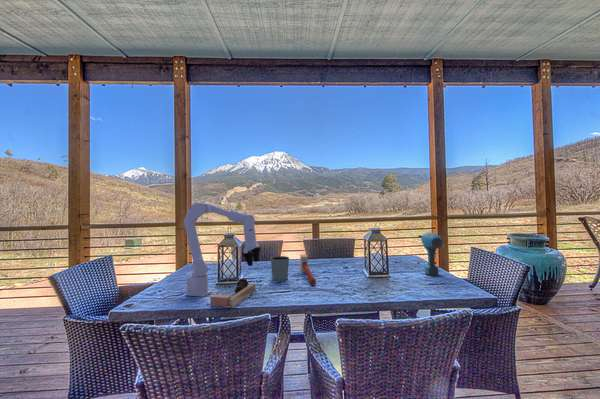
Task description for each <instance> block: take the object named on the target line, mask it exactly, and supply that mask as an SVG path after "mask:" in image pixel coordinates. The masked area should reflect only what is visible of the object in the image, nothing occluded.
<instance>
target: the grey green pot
mask: <svg viewBox="0 0 600 399" xmlns="http://www.w3.org/2000/svg"><path fill="white" fill-rule="evenodd" d="M289 264H290V257H289V256H284V255H283V256H281V255H279V256H278V255H276V256H272V257H270V266H271V280H272V281H273V282H280V283H281V282H286V281H287V280H288V279H289Z"/></svg>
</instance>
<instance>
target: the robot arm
mask: <svg viewBox="0 0 600 399" xmlns="http://www.w3.org/2000/svg"><path fill="white" fill-rule="evenodd" d="M210 213H214V214H217V215H220V216H224V217H226V218H227V219H228V221H231V222H234V223H237V224H242V228H243V236H244V244H245V247H244V249H243V252H242V253H241V254H242V256H243V258H244V259H245V261H246V264H247V266H249V267H251V266H253V264H254V263H253V262H259V260H260V252H261V250H262V247H261V246H260V243H259V242H257V237H256V236H257V235H256V228H255V222H256V219H255V217H254V216H253V215H251V214H248V213H247V212H245V211H244V212H242V211H239V209H236V208H232V209H230V210H227V209H225V208H222V207H219V206H216V205H213V204H212V203H211V204H210V203H205V202H204V203H203V202H199V201H196V202H193V203H192V204H191V205H190V206H189V207H188V209H187V212H186V214H185V217H184V219H183V224H184V228H185V233H186V237H187V241H188V245H189V249H190V254H191V259H192V265H191V269H192V270H193V273H192V274H190V275H189V276H187V278H186V294H185V296H190V297H191V296H192V297H200V298H201V297H205V296H207V295H208V294H210V293H212V291H213V290H211V289H210V290H209V276H208V275H209V274H208V266H207V265H206V263H205V260H204V258H203V254H202V250H201V245H200V240H199V237H198V232H197V228H196V223H197V221H198V219H199V218H201V217H202V216H204V214H210Z"/></svg>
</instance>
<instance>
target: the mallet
mask: <svg viewBox="0 0 600 399" xmlns="http://www.w3.org/2000/svg"><path fill="white" fill-rule="evenodd" d="M299 260H300V261H299V262H300V268H299V269H300V271H299V272H300V273H301V274H306V277H307V279H308V281H309V283H310V285H311V286H315V285H316V284H317V282H316V279H315V277H314V275H313V273H312V271H311V270H310V268H309V266H308V255H307V254H306V253H305V254H300V256H299Z"/></svg>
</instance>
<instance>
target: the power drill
mask: <svg viewBox="0 0 600 399" xmlns="http://www.w3.org/2000/svg"><path fill="white" fill-rule="evenodd" d="M418 238H420V240H421V244H422V245H423V247H424V249H425V250H426V252H427V265H425V266H424V274H425V275H427V276H431V277H432V276H439V268H440V267H439V266H437V265H436V252H437V250H438V249H439V248H441V247H442V246H443V239H442V237H441V236H440V235H438V234H437V233H434V232H425V233H423V234H422V235H421V234H418Z"/></svg>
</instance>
